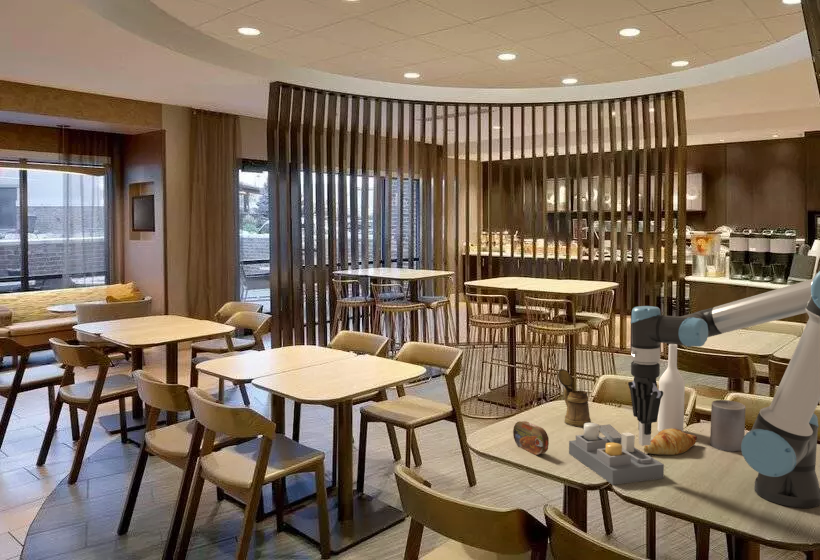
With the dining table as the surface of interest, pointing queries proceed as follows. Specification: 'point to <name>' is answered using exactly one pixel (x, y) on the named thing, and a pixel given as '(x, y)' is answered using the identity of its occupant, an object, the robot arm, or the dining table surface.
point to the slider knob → (628, 441)
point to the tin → (531, 437)
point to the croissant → (670, 442)
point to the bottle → (671, 395)
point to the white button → (591, 431)
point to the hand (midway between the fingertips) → (644, 444)
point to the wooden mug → (574, 402)
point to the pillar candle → (727, 425)
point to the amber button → (613, 449)
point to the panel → (615, 461)
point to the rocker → (610, 433)
